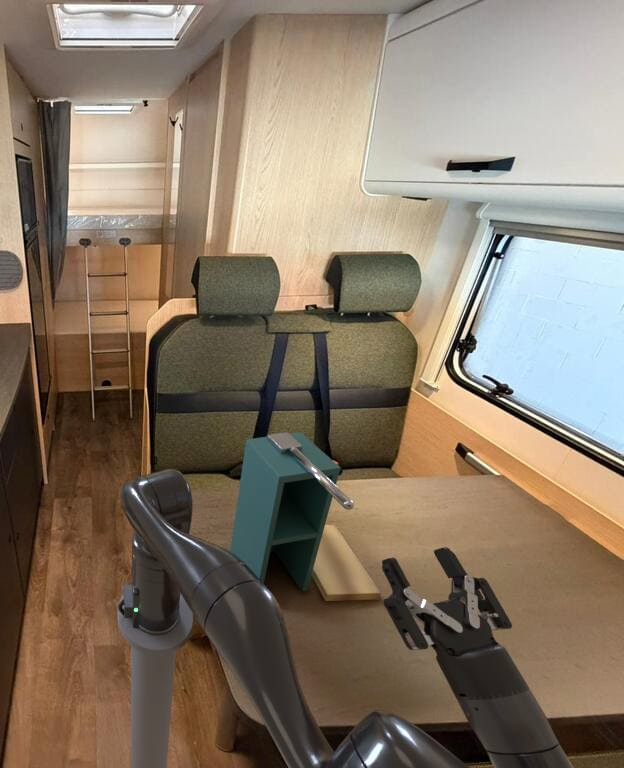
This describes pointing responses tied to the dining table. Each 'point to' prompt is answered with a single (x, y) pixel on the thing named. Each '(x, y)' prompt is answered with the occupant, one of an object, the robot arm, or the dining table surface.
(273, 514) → the shelf
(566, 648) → the dining table surface
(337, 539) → the cutting board
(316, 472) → the metal spatula
